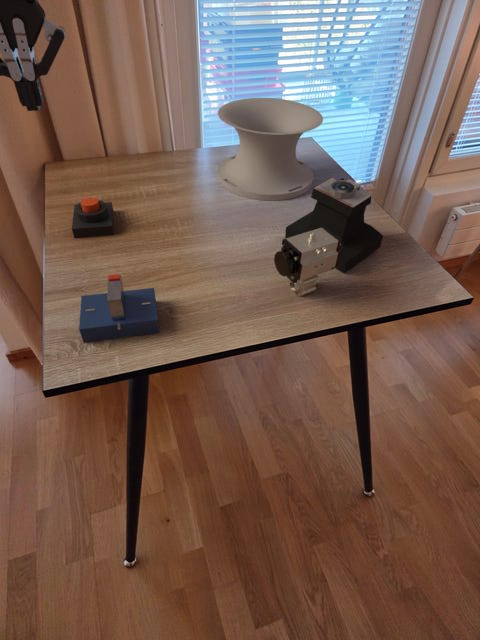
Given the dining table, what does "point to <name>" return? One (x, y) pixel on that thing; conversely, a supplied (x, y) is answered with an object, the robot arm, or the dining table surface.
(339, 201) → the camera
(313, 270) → the pneumatic valve
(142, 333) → the toggle switch base
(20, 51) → the robot arm
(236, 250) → the dining table surface
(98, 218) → the button housing
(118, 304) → the toggle switch lever
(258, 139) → the vase
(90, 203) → the release button
